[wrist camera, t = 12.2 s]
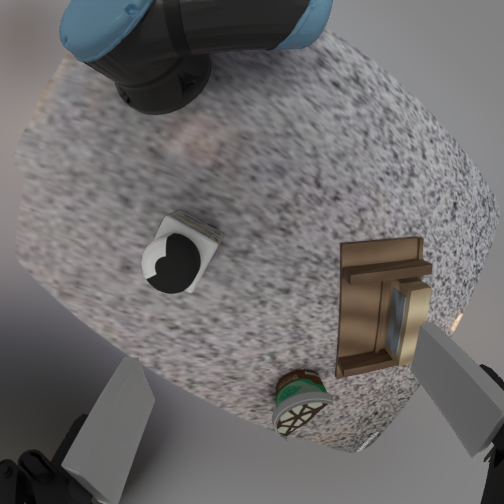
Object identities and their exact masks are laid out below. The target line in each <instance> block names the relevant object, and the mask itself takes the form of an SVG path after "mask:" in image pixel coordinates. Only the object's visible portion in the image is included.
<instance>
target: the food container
mask: <svg viewBox="0 0 504 504" xmlns="http://www.w3.org/2000/svg"><path fill="white" fill-rule="evenodd" d="M332 402H333V395H331V394H329V393H327V391H326V389H325V387H324V385H323V383H322V381H321V379H320V377H319V375H318V373H317V372H314V371H312V370H306V369H304V370H296V371H292V372H289V373H288V374H286V375H284V376H283V377H282V378H281V379H280V380H279V381H278V383H277V385H276V409H275V411H274V413H273V415H272V423H273V426H274V429H275V431H276V432H277V433H278V435H279V436H280V437H281V438H283V439H285V440H287V436H288V435H289V434H290V433H292V432H293V431H294V430H296V429H297V428H299V427H301V426H302V425H304V424H306V423H307V422H308V421H310V420H311V419H312V418H313V417H314V416H315V415H316V414H317V413H318V412H319V411H320V410H321V409H323V408H324V407H325V406H326V405H327V404H331V405H333V403H332Z"/></svg>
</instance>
